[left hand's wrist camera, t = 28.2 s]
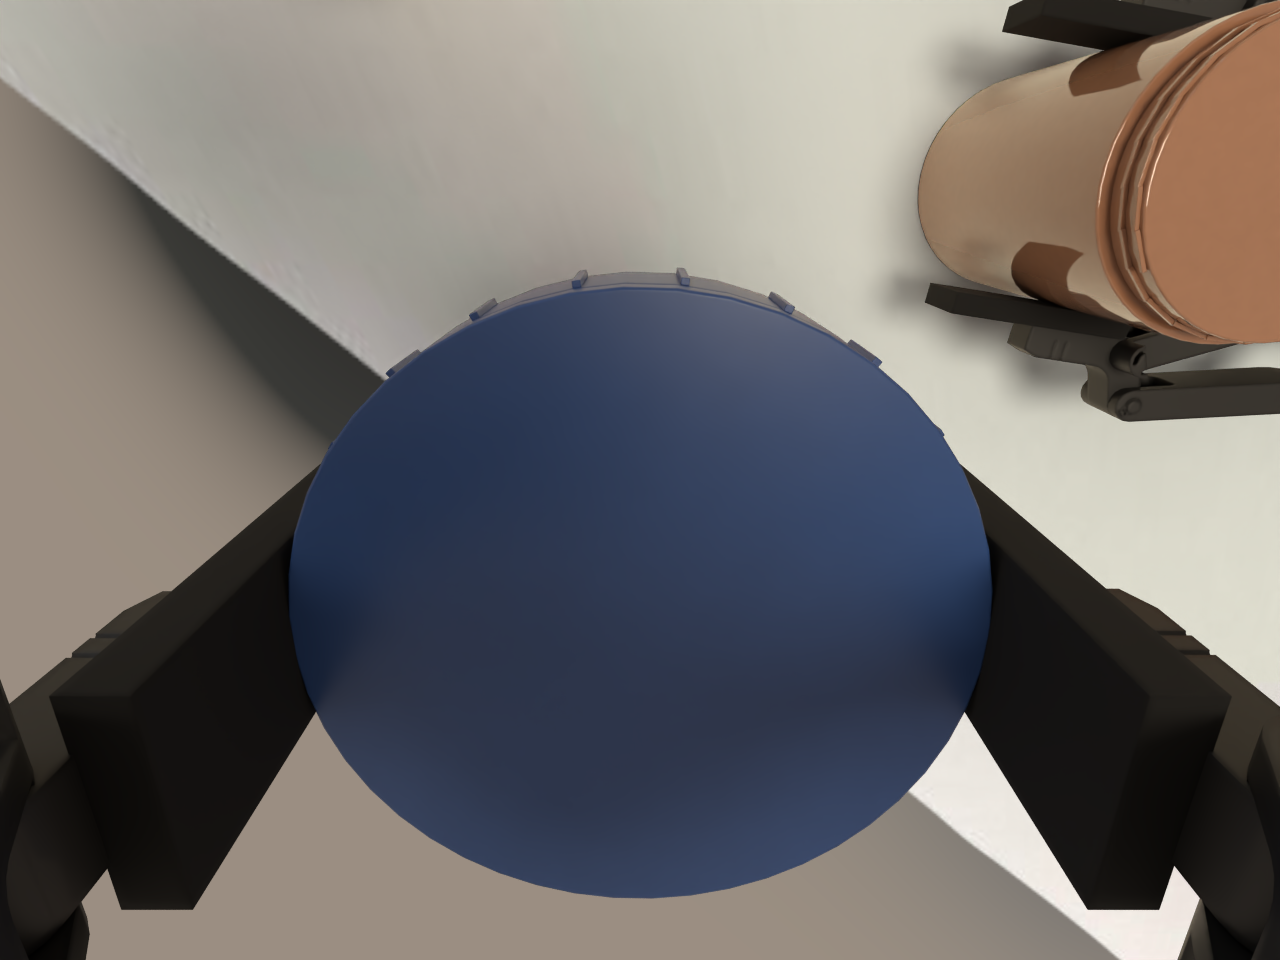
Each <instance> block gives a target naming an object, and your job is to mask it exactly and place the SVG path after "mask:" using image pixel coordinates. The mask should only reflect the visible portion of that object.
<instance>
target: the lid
mask: <svg viewBox="0 0 1280 960" xmlns="http://www.w3.org/2000/svg"><path fill="white" fill-rule="evenodd" d="M794 308H795V307H794V306H793V305H791V304H790V303H789V302H787V301H786V300H785V299H783V298H782V297H781V296H779V295H778V294H776V293H773V292H771V293H770V295H769V297H766V296H764V295H762V294H759V293H756V292H753V291H750V290H746V289H743V288H740V287H737V286H733V285H730V284H727V283H724V282H720V281H717V280H711V279H705V278H698V277H692V276H689V275H688V274H687V272H686V270H685V269H684V268H677V271H676V274H674V273H644V272H622V273H612V274H603V275H594V276H588V274H587V270H583V271H579V272H578V273H577V275H576V276H575V277H574V279H570V280H566V281H562V282H558V283H554V284H550V285H546V286H542V287H538V288H535V289H532V290H530V291H527V292H525V293H522V294H520V295H517V296H515V297H513V298H510V299H508V300H505V301H503V302H500V303H498V304H497V302H496V300H495V299H494V298H493V299H491V300H489V301H488V302H486V303H485V304H483V305H482V306H481V307H479V308H478V309H476V310H475V311H474V312H472V313H471V314H470V315H469V316H470V319H469V320H467V321H465V322H464V323H462V324H460V325H458V326H457V327H455V328H454V329H452V330H451V331H450V332H448V333H447V334H446V335H444V336H443V337H441V338H440V339H439V340H437V341H436V342H435V343H433V344H432V345H431V346H429V347H428V348H426V349H425V350H424V351H423V352H420V351H419V350H416V351H415V352H413V353H412V354H410V355H409V356H408V357H406V358H405V359H403V360H402V361H400V362H399V363H398V364H396V365H395V366H393V367H392V368H391V369H390V370H388V371H387V372H386V375H387V376H388V377H389V378H388V379H387V380H386V381H384V383H383V384H382V385H381V386H380V387H379V388H378V389H377V390H376V391H375V392H374V393H373V394H372V395H371V396H370V397H369V398H368V399H367V400H366V402H365V403H364V404H363V405H362V406H361V407H360V408H359V409H358V410H357V411H356V412H355V413H354V414H353V415H352V417H351V418H350V420H349V421H348V422H347V424H346V425H345V427H344V428H343V430H342V431H341V433H340V434H339V435H338V437H337V438H336V439H335V440H334V441H333V442H332V443H331V444H330V446H329V448H328V449H329V450H328V451H327V453H326V455H325V457H324V459H323V461H322V463H321V465H320V467H319V469H318V471H317V473H316V475H315V477H314V479H313V481H312V483H311V485H310V487H309V489H308V491H307V494H306V497H305V500H304V504H303V507H302V510H301V513H300V517H299V520H298V523H297V526H296V530H295V533H294V539H293V546H292V553H291V560H290V567H289V574H288V583H289V618H290V624H291V629H292V635H293V640H294V645H295V651H296V656H297V660H298V665H299V669H300V672H301V675H302V678H303V681H304V684H305V687H306V691H307V693H308V695H309V698H310V700H311V702H312V704H313V706H314V708H315V710H316V712H317V714H318V716H319V718H320V720H321V722H322V725H323V727H324V729H325V730H326V732H327V733H328V735H329V736H330V738H331V739H332V741H333V742H334V744H335V745H336V747H337V748H338V750H339V751H340V753H341V754H342V756H343V757H344V759H345V760H346V762H347V763H348V764H349V765H350V766H351V767H352V769H353V770H354V771H355V772H356V773H357V774H358V776H359V777H360V778H361V779H362V780H363V781H364V783H365V784H366V785H367V786H368V787H369V788H370V790H372V791H373V792H374V793H375V794H376V795H377V796H378V797H379V798H380V799H381V800H382V801H384V802H385V803H386V804H387V805H388V806H389V807H390V808H391V809H392V810H393V811H394V812H396V813H397V814H398V815H399V816H400V817H402V818H403V819H404V820H406V821H407V822H408V823H410V824H411V825H413V826H414V827H415V828H417V829H418V830H419V831H421V832H422V833H424V834H425V835H426V836H428V837H429V838H431V839H432V840H434V841H436V842H438V843H439V844H441V845H443V846H445V847H446V848H448V849H450V850H452V851H453V852H455V853H457V854H459V855H460V856H462V857H464V858H466V859H468V860H471V861H473V862H475V863H478V864H480V865H482V866H484V867H487V868H489V869H491V870H493V871H496V872H498V873H501V874H504V875H507V876H510V877H513V878H516V879H519V880H522V881H526V882H529V883H532V884H535V885H539V886H543V887H548V888H553V889H557V890H562V891H567V892H571V893H577V894H586V895H594V896H603V897H612V898H664V897H677V896H690V895H696V894H702V893H708V892H713V891H719V890H725V889H730V888H733V887H737V886H741V885H744V884H748V883H752V882H755V881H759V880H762V879H766V878H769V877H771V876H774V875H776V874H779V873H781V872H784V871H787V870H789V869H792V868H794V867H797V866H799V865H802V864H804V863H806V862H808V861H810V860H812V859H814V858H816V857H818V856H820V855H822V854H823V853H825V852H827V851H829V850H831V849H833V848H835V847H837V846H839V845H840V844H842V843H843V842H845V841H846V840H848V839H849V838H851V837H852V836H854V835H855V834H857V833H858V832H860V831H861V830H863V829H864V828H866V827H867V826H869V825H870V824H871V823H873V822H874V821H875V820H876V819H877V818H879V817H880V816H881V815H882V814H883V813H885V812H886V811H887V810H888V809H889V808H891V807H892V806H893V805H894V804H895V803H897V802H898V801H899V800H900V799H901V798H902V797H903V796H904V795H905V794H906V793H907V791H908V790H909V789H910V788H911V787H912V786H913V785H914V784H915V783H916V782H917V781H918V780H919V779H920V778H921V777H922V776H923V775H924V773H925V772H926V771H927V770H928V768H929V767H930V766H931V764H932V763H933V762H934V760H935V759H936V757H937V756H938V755H939V753H940V752H941V751H942V749H943V748H944V746H945V745H946V744H947V742H948V741H949V739H950V737H951V736H952V734H953V732H954V730H955V728H956V726H957V725H958V723H959V721H960V719H961V717H962V715H963V714H964V712H965V710H966V708H967V706H968V703H969V701H970V698H971V696H972V693H973V690H974V688H975V685H976V682H977V680H978V677H979V675H980V672H981V668H982V664H983V659H984V654H985V649H986V644H987V639H988V634H989V628H990V620H991V606H992V579H991V567H990V555H989V547H988V543H987V539H986V535H985V531H984V527H983V522H982V518H981V514H980V510H979V507H978V505H977V502H976V500H975V497H974V495H973V493H972V490H971V488H970V485H969V483H968V481H967V478H966V476H965V473H964V471H963V469H962V467H961V465H960V464H959V462H958V460H957V459H956V457H955V455H954V454H953V452H952V450H951V449H950V447H949V446H948V444H947V442H946V441H945V439H944V437H943V436H944V433H943V432H942V430H941V429H940V428H939V427H937V426H936V425H935V424H934V423H933V422H932V421H931V420H930V419H929V417H928V416H927V415H926V414H925V413H924V412H923V410H922V409H921V408H920V407H919V406H918V404H917V403H916V402H915V401H914V400H913V399H912V397H911V396H910V395H909V394H908V393H907V392H906V391H905V390H904V389H903V388H901V387H900V386H899V385H898V384H897V383H896V382H895V381H893V380H892V379H891V378H890V377H889V376H888V375H887V374H885V373H884V372H883V371H882V370H881V369H880V368H879V367H878V366H879V365H880V364H881V363H882V361H881V360H879V359H878V358H877V357H876V356H874V355H873V354H871V353H870V352H869V351H867V350H866V349H864V348H863V347H862V346H860V345H859V344H857V343H856V342H854V341H853V340H850V341H849V342H848V343H846V342H845V341H843V340H842V339H841V338H839V337H838V336H836V335H835V334H833V333H832V332H830V331H829V330H827V329H826V328H824V327H822V326H821V325H819V324H818V323H816V322H815V321H813V320H812V319H810V318H809V317H807V316H806V315H804V314H802V313H801V312H799V311H796V310H794Z"/></svg>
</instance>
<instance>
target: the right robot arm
mask: <svg viewBox="0 0 1280 960" xmlns="http://www.w3.org/2000/svg"><path fill="white" fill-rule="evenodd" d="M1274 1H1278V0H1121V1H1120V0H1022V1H1020V2H1018V3H1016V4H1014V5H1012V6H1010V7H1009V9H1008V13H1007V16H1006V20H1005V23H1004V27H1003V30H1002V32H1006V33H1012V34H1017V35H1023V36H1028V37H1034V38H1039V39H1045V40H1050V41H1056V42H1061V43H1067V44H1072V45H1078V46H1083V47H1089V48H1095V49H1100V50H1108V49H1111V48H1114V47H1118V46H1121V45H1125V44H1128V43H1131V42H1135V41H1138V40H1142V39H1145V38H1149V37H1152V36H1155V35H1159V34H1162V33H1166V32H1169V31H1172V30H1176V29H1179V28H1183V27H1186V26H1189V25H1193V24H1196V23H1200V22H1203V21H1207V20H1210V19H1213V18H1217V17H1220V16H1224V15H1227V14H1230V13H1234V12H1237V11H1241V10H1244V9H1247V8H1251V7H1254V6H1258V5H1261V4H1265V3H1269V2H1274ZM925 303H928V304H930V305H933V306H935V307H937V308H940V309H942V310H945V311H947V312H950V313H953V314H960V315H966V316H972V317H979V318H985V319H991V320H998V321H1004V322H1011V323H1014V324H1013V327H1012V330H1011V333H1010V336H1009V339H1008V342H1007V343H1009V344H1010V345H1012V346H1013V347H1015V348H1016V349H1018V350H1020V351H1022V352H1025V353H1027V354H1029V355H1032V356H1034V357H1038V358H1045V359H1051V360H1057V361H1064V362H1070V363H1077V364H1083V365H1086V368H1087V371H1088V380H1087V381H1086V382H1085V384H1084V385H1083V387H1082V389H1081V397H1082V399H1083V401H1084V402H1086V403H1087V404H1089V405H1091V406H1093V407H1095V408H1097V409H1100V410H1102V411H1104V412H1106V413H1108V414H1110V415H1112V416H1114V417H1116V418H1118V419H1120V420H1122V421H1128V422H1133V421H1151V420H1170V419H1189V418H1208V417H1227V416H1246V415H1265V414H1280V368H1271V367H1253V368H1235V369H1216V370H1198V371H1179V372H1161V373H1142V372H1143V371H1144V370H1147V369H1150V368H1154V367H1157V366H1161V365H1165V364H1168V363H1172V362H1175V361H1179V360H1182V359H1186V358H1190V357H1193V356H1197V355H1200V354H1204V353H1208V352H1211V351H1215V350H1218V349H1222V348H1225V347H1229V346H1233V345H1236V344H1238V343H1230V344H1219V345H1216V344H1197V343H1192V342H1186V341H1181V340H1177V339H1174V338H1170V337H1167V336H1163V335H1160V334H1156V333H1153V332H1149V331H1145V330H1142V329H1138V328H1135V327H1131V326H1128V325H1124V324H1121V323H1117V322H1114V321H1110V320H1107V319H1103V318H1100V317H1096V316H1093V315H1089V314H1086V313H1082V312H1079V311H1075V310H1071V309H1068V308H1064V307H1061V306H1057V305H1054V304H1050V303H1047V302H1043V301H1040V300H1034V299H1028V298H1022V297H1015V296H1009V295H1003V294H997V293H990V292H984V291H978V290H972V289H965V288H959V287H953V286H946V285H940V284H934V283H930V286H929V290H928V293H927V297H926V300H925Z"/></svg>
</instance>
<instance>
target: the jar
mask: <svg viewBox="0 0 1280 960" xmlns="http://www.w3.org/2000/svg"><path fill="white" fill-rule="evenodd" d="M918 205H919V215H920V220H921V225H922V228H923V231H924V234H925V237H926V239H927V241H928V243H929V245H930V246H931V248H932V250H933V251H934V253H935V254H936V255H937V257H938V258H939V259H940V260H941V261H942V262H943V263H944V264H945V265H946V266H947V267H948V268H949V269H951V270H952V271H953V272H955V273H956V274H958V275H960V276H962V277H964V278H966V279H968V280H971V281H974V282H977V283H980V284H983V285H987V286H990V287H994V288H997V289H1001V290H1004V291H1008V292H1012V293H1015V294H1019V295H1022V296H1026V297H1029V298H1033V299H1036V300H1040V301H1043V302H1047V303H1050V304H1054V305H1057V306H1061V307H1064V308H1068V309H1071V310H1075V311H1079V312H1082V313H1086V314H1089V315H1093V316H1096V317H1100V318H1103V319H1107V320H1110V321H1114V322H1117V323H1121V324H1124V325H1128V326H1131V327H1135V328H1138V329H1142V330H1145V331H1149V332H1153V333H1156V334H1160V335H1163V336H1167V337H1170V338H1174V339H1177V340H1181V341H1186V342H1192V343H1197V344H1216V345H1219V344H1230V343H1238V344H1252V343H1271V342H1280V0H1278V1H1274V2H1269V3H1265V4H1261V5H1258V6H1254V7H1251V8H1247V9H1244V10H1241V11H1237V12H1234V13H1230V14H1227V15H1224V16H1220V17H1217V18H1213V19H1210V20H1207V21H1203V22H1200V23H1196V24H1193V25H1189V26H1186V27H1183V28H1179V29H1176V30H1172V31H1169V32H1166V33H1162V34H1159V35H1155V36H1152V37H1149V38H1145V39H1142V40H1138V41H1135V42H1131V43H1128V44H1125V45H1121V46H1118V47H1114V48H1111V49H1108V50H1104V51H1101V52H1097V53H1094V54H1091V55H1087V56H1084V57H1080V58H1077V59H1073V60H1070V61H1067V62H1063V63H1060V64H1056V65H1053V66H1050V67H1046V68H1043V69H1039V70H1036V71H1033V72H1029V73H1026V74H1022V75H1019V76H1015V77H1012V78H1009V79H1006V80H1003V81H1000V82H998V83H995V84H993V85H991V86H989V87H987V88H985V89H983V90H982V91H980V92H978V93H977V94H975V95H974V96H973V97H971V98H970V99H968V100H967V101H966V102H965V103H964V104H963V105H962V106H960V107H959V108H958V109H957V110H956V111H955V112H954V113H953V115H952V116H951V117H950V118H949V119H948V120H947V121H946V123H945V124H944V126H943V127H942V128H941V130H940V131H939V133H938V134H937V136H936V138H935V140H934V141H933V143H932V145H931V147H930V149H929V152H928V154H927V157H926V159H925V162H924V165H923V169H922V172H921V177H920V183H919V194H918Z"/></svg>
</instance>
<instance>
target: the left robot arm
mask: <svg viewBox="0 0 1280 960" xmlns="http://www.w3.org/2000/svg"><path fill="white" fill-rule="evenodd" d="M959 464H960V463H959ZM320 465H321V464H320ZM320 465H319V466H318V467H316V468H315V469H314V470H313V471H312V472H310V473H309V474H308V475H307V476H306V477H305V478H303V479H302V480H301V481H300V482H299V483H298V484H296V485H295V486H294V487H293V488H292V489H291V490H289V491H288V492H287V493H286V494H285V495H284V496H282V497H281V498H280V499H279V500H278V501H277V502H275V503H274V504H273V505H272V506H271V507H270V508H268V509H267V510H266V511H265V512H264V513H263V514H261V515H260V516H259V517H258V518H257V519H255V520H254V521H253V522H252V523H251V524H250V525H248V526H247V527H246V528H245V529H244V530H243V531H241V532H240V533H239V534H238V535H237V536H236V537H234V538H233V539H232V540H231V541H230V542H229V543H227V544H226V545H225V546H224V547H223V548H222V549H220V550H219V551H218V552H217V553H216V554H215V555H213V556H212V557H211V558H210V559H209V560H208V561H206V562H205V563H204V564H203V565H202V566H201V567H199V568H198V569H197V570H196V571H195V572H194V573H192V574H191V575H190V576H189V577H188V578H186V579H185V580H184V581H183V582H182V583H181V584H179V585H178V586H177V587H176V588H175V589H174V590H172V591H162V592H160V593H159V594H156V595H154V596H152V597H151V598H149V599H146V600H144V601H142V602H140V603H138V604H137V605H134V606H133V607H130V608H129V609H127V610H125V611H123V612H122V613H121V614H119V615H118V616H117V617H116V618H114V619H113V620H112V621H111V622H110V623H108V624H107V625H106V626H105V627H103V628H102V629H101V630H100V631H98V632H97V633H96V637H95V638H90V639H89V640H87V641H86V642H85V643H84V644H83V645H81V646H80V647H79V648H78V649H76V650H75V651H74V652H73V653H72V657H71V658H65V659H64V660H63V661H62V662H60V663H59V664H58V665H57V666H55V667H54V668H53V669H52V670H50V671H49V672H48V673H47V674H46V675H44V676H43V677H42V678H41V679H39V680H38V681H37V682H36V683H35V684H33V685H32V686H31V687H30V688H28V689H27V690H26V691H25V692H23V693H22V694H21V695H20V696H19V697H17V698H16V699H15V700H14V701H12V702H11V703H10V704H9V702H8V700H7V697H6V694H5V691H4V689H3V686H2V683H1V680H0V960H86V954H87V948H88V941H89V935H90V933H89V927H88V920H87V916H86V913H85V911H84V908H83V905H82V902H81V901H82V900H83V899H84V898H85V896H86V895H87V894H88V892H89V891H90V890H91V889H92V887H93V886H94V885H95V884H96V882H97V881H98V880H99V878H100V877H101V876H102V875H103V873H104V872H105V871H106V870H107V869H108V872H109V875H110V878H111V881H112V884H113V886H114V889H115V892H116V895H117V898H118V901H119V904H120V907H121V909H122V910H193V909H194V907H195V905H196V904H197V902H198V901H199V899H200V897H201V896H202V894H203V893H204V891H205V889H206V888H207V886H208V884H209V883H210V881H211V880H212V878H213V876H214V875H215V873H216V872H217V870H218V868H219V867H220V865H221V864H222V862H223V860H224V859H225V857H226V856H227V854H228V852H229V851H230V849H231V848H232V846H233V844H234V843H235V841H236V839H237V838H238V836H239V835H240V833H241V831H242V830H243V828H244V827H245V825H246V823H247V822H248V820H249V819H250V817H251V815H252V814H253V812H254V811H255V809H256V807H257V806H258V804H259V803H260V801H261V799H262V798H263V796H264V795H265V793H266V791H267V790H268V788H269V786H270V785H271V783H272V782H273V780H274V778H275V777H276V775H277V774H278V772H279V770H280V769H281V767H282V766H283V764H284V762H285V761H286V759H287V758H288V756H289V754H290V753H291V751H292V749H293V748H294V746H295V745H296V743H297V741H298V740H299V738H300V737H301V735H302V733H303V732H304V730H305V729H306V727H307V725H308V724H309V722H310V720H311V719H312V717H313V716H314V714H315V712H316V710H315V708H314V706H313V704H312V702H311V700H310V698H309V695H308V693H307V691H306V687H305V684H304V681H303V678H302V675H301V672H300V669H299V665H298V660H297V656H296V651H295V645H294V640H293V635H292V629H291V624H290V618H289V583H288V574H289V567H290V560H291V553H292V546H293V539H294V533H295V530H296V526H297V523H298V520H299V517H300V513H301V510H302V507H303V504H304V500H305V497H306V494H307V491H308V489H309V487H310V485H311V483H312V481H313V479H314V477H315V475H316V473H317V471H318V469H319V467H320ZM960 465H961V464H960ZM961 467H962V469H963V471H964V473H965V476H966V478H967V481H968V483H969V485H970V488H971V490H972V493H973V495H974V497H975V500H976V502H977V505H978V507H979V510H980V514H981V518H982V522H983V527H984V531H985V535H986V539H987V543H988V547H989V555H990V567H991V579H992V606H991V620H990V628H989V634H988V639H987V644H986V649H985V654H984V659H983V664H982V668H981V672H980V675H979V677H978V680H977V682H976V685H975V688H974V690H973V693H972V696H971V698H970V701H969V703H968V706H967V708H966V710H965V713H966V715H967V717H968V718H969V720H970V721H971V723H972V725H973V726H974V728H975V729H976V731H977V733H978V734H979V736H980V737H981V739H982V741H983V742H984V744H985V745H986V747H987V749H988V750H989V752H990V753H991V755H992V757H993V758H994V760H995V762H996V763H997V765H998V766H999V768H1000V770H1001V771H1002V773H1003V774H1004V776H1005V778H1006V779H1007V781H1008V782H1009V784H1010V786H1011V787H1012V789H1013V790H1014V792H1015V794H1016V795H1017V797H1018V799H1019V800H1020V802H1021V803H1022V805H1023V807H1024V808H1025V810H1026V811H1027V813H1028V815H1029V816H1030V818H1031V819H1032V821H1033V823H1034V824H1035V826H1036V827H1037V829H1038V831H1039V832H1040V834H1041V835H1042V837H1043V839H1044V840H1045V842H1046V844H1047V845H1048V847H1049V848H1050V850H1051V852H1052V853H1053V855H1054V856H1055V858H1056V860H1057V861H1058V863H1059V864H1060V866H1061V868H1062V869H1063V871H1064V872H1065V874H1066V876H1067V877H1068V879H1069V880H1070V882H1071V884H1072V885H1073V887H1074V889H1075V890H1076V892H1077V893H1078V895H1079V897H1080V898H1081V900H1082V901H1083V903H1084V905H1085V906H1086V908H1087V909H1088V910H1159V909H1160V906H1161V903H1162V900H1163V897H1164V894H1165V891H1166V888H1167V885H1168V883H1169V880H1170V877H1171V874H1172V871H1173V868H1174V866H1175V867H1176V868H1177V870H1178V871H1179V872H1180V873H1181V875H1182V876H1183V877H1184V879H1185V880H1186V881H1187V882H1188V884H1189V885H1190V886H1191V887H1192V889H1193V890H1194V891H1195V892H1196V894H1197V895H1198V896H1199V898H1200V900H1199V902H1198V905H1197V908H1196V911H1195V913H1194V916H1193V919H1192V921H1191V924H1190V927H1189V930H1188V932H1187V935H1186V938H1185V941H1184V943H1183V946H1182V949H1181V952H1180V954H1179V957H1178V960H1280V707H1279V706H1278V705H1277V704H1276V703H1274V702H1273V701H1272V700H1271V699H1270V698H1268V697H1267V696H1266V695H1265V694H1263V693H1262V692H1261V691H1260V690H1258V689H1257V688H1256V687H1255V686H1253V685H1252V684H1251V683H1250V682H1248V681H1247V680H1246V679H1245V678H1243V677H1242V676H1241V675H1240V674H1239V673H1237V672H1236V671H1235V670H1234V669H1232V668H1231V667H1230V666H1229V665H1227V664H1226V663H1225V662H1224V661H1222V660H1221V659H1220V658H1219V657H1217V656H1216V655H1210V653H1209V651H1210V650H1209V649H1208V648H1206V647H1205V646H1204V645H1203V644H1201V643H1200V642H1199V641H1198V640H1196V639H1195V638H1194V637H1193V636H1187V635H1186V631H1185V630H1184V629H1183V628H1182V627H1180V626H1179V625H1178V624H1177V623H1175V622H1174V621H1173V620H1172V619H1170V618H1169V617H1168V616H1167V615H1165V614H1164V613H1163V612H1162V611H1160V610H1159V609H1158V608H1156V607H1154V606H1152V605H1150V604H1148V603H1146V602H1144V601H1142V600H1140V599H1138V598H1136V597H1134V596H1132V595H1130V594H1128V593H1126V592H1124V591H1122V590H1120V589H1106V588H1105V587H1103V586H1102V585H1101V584H1100V583H1099V582H1098V581H1096V580H1095V579H1094V578H1093V577H1092V576H1091V575H1089V574H1088V573H1087V572H1086V571H1085V570H1084V569H1082V568H1081V567H1080V566H1079V565H1078V564H1077V563H1075V562H1074V561H1073V560H1072V559H1071V558H1070V557H1068V556H1067V555H1066V554H1065V553H1064V552H1063V551H1061V550H1060V549H1059V548H1058V547H1057V546H1055V545H1054V544H1053V543H1052V542H1051V541H1050V540H1048V539H1047V538H1046V537H1045V536H1044V535H1043V534H1041V533H1040V532H1039V531H1038V530H1037V529H1036V528H1034V527H1033V526H1032V525H1031V524H1030V523H1029V522H1027V521H1026V520H1025V519H1024V518H1023V517H1022V516H1020V515H1019V514H1018V513H1017V512H1016V511H1015V510H1013V509H1012V508H1011V507H1010V506H1009V505H1007V504H1006V503H1005V502H1004V501H1003V500H1002V499H1000V498H999V497H998V496H997V495H996V494H995V493H993V492H992V491H991V490H990V489H989V488H988V487H986V486H985V485H984V484H983V483H982V482H981V481H979V480H978V479H977V478H976V477H975V476H974V475H972V474H971V473H970V472H969V471H968V470H967V469H965V468H964V467H963V466H962V465H961Z"/></svg>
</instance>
